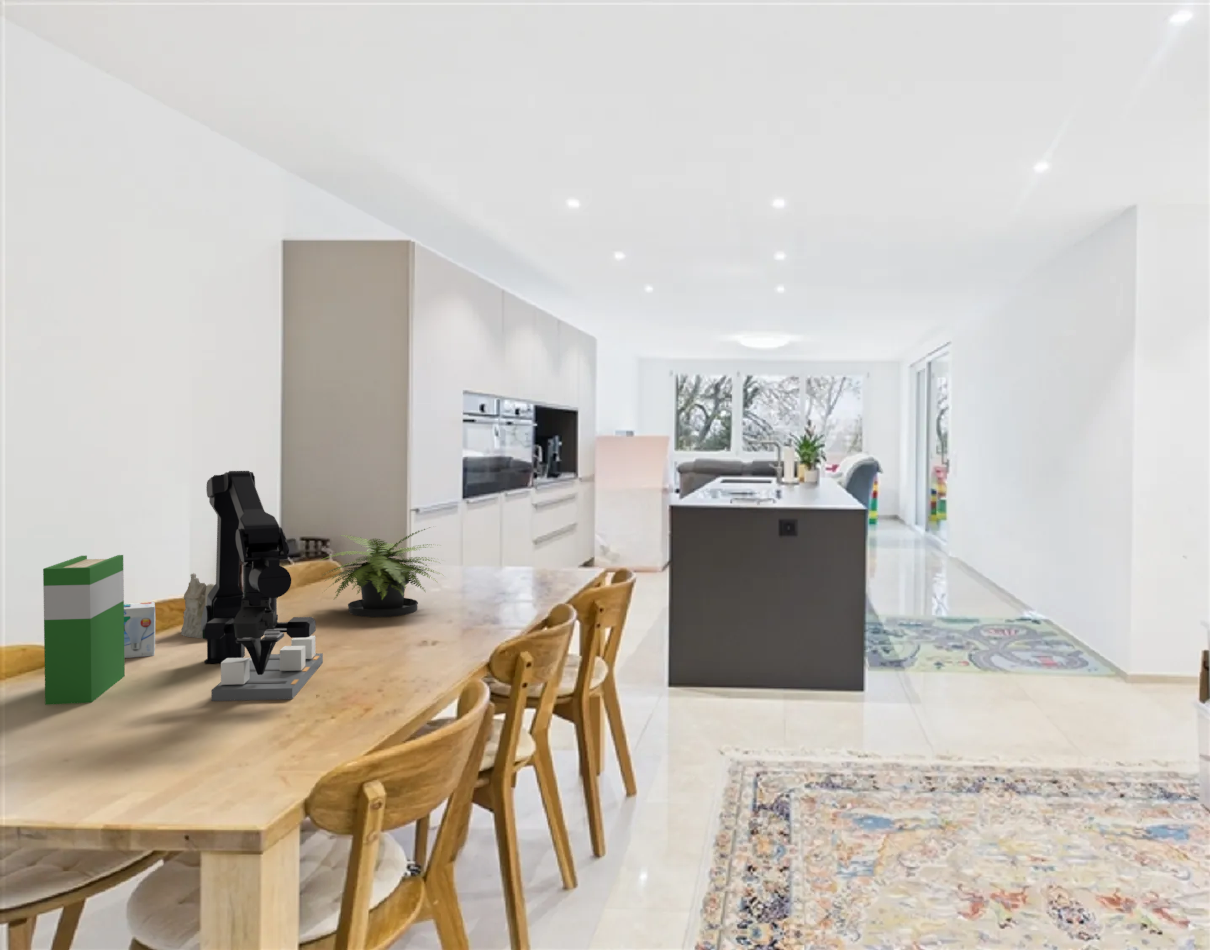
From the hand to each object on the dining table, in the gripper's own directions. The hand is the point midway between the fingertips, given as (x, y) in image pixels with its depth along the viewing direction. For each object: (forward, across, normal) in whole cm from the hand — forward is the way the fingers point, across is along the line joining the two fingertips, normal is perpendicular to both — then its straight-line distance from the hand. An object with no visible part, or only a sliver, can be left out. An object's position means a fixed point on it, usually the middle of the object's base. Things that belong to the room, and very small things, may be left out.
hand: (260, 674), depth 161 cm
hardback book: (+4, -33, +5) cm, 33 cm away
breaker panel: (+4, 0, +9) cm, 10 cm away
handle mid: (+1, +4, +9) cm, 10 cm away
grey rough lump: (+4, -25, +55) cm, 61 cm away
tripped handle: (+1, -4, 0) cm, 5 cm away
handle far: (+1, +3, +18) cm, 19 cm away
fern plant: (+4, +10, +80) cm, 80 cm away
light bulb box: (+4, -37, +32) cm, 49 cm away
